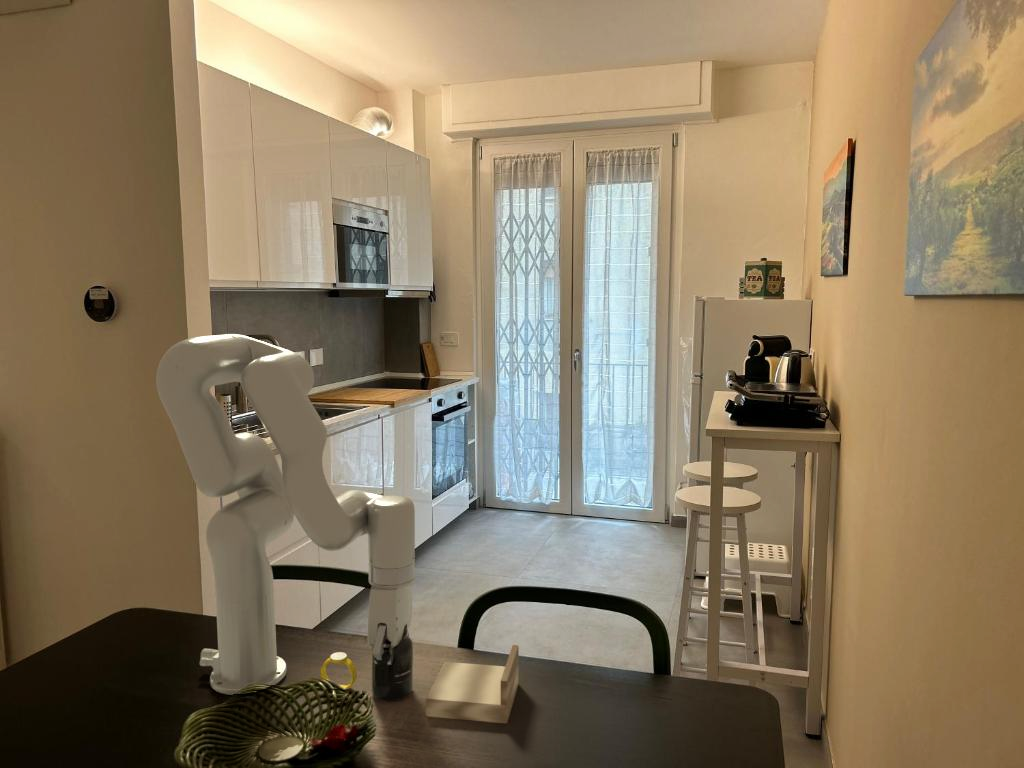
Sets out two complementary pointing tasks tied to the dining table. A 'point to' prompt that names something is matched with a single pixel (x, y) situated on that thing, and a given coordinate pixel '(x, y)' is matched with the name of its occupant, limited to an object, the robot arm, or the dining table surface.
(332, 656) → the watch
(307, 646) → the dining table surface
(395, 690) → the supplement bottle
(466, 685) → the birch stand
